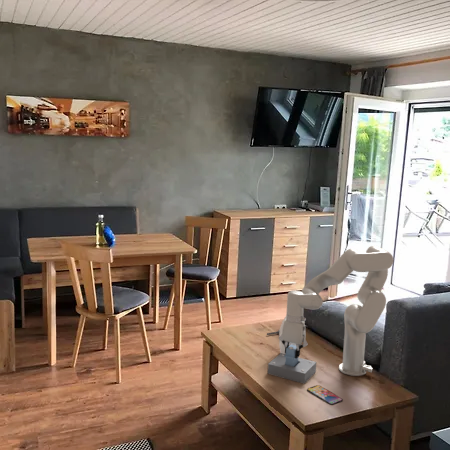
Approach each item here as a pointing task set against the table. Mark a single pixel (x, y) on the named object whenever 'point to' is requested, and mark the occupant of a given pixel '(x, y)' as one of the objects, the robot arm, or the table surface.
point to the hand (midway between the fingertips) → (292, 355)
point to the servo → (291, 356)
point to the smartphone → (324, 395)
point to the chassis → (292, 369)
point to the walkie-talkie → (274, 332)
